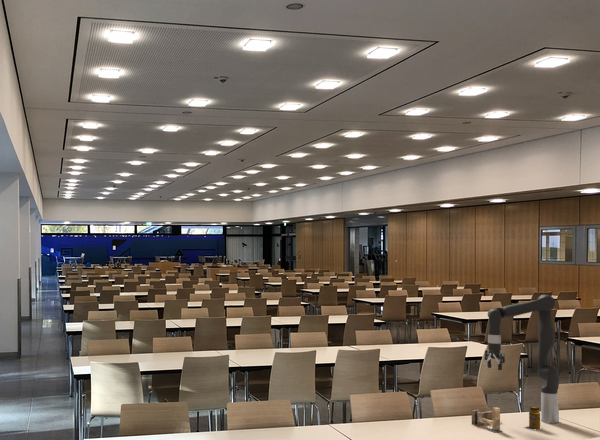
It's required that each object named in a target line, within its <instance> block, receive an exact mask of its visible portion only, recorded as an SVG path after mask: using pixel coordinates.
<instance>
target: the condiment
mask: <svg viewBox="0 0 600 440" xmlns="http://www.w3.org/2000/svg"><path fill="white" fill-rule="evenodd" d="M528 422H529V423H528V426H524V427H523V428H525V429H527V430H531V431H538V430H539V431H540V430H544V428H543V427H541V409H540V407H539V406H535V405H531V406H530V405H529V411H528ZM540 428H541V429H540ZM534 429H536V430H534Z"/></svg>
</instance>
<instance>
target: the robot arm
mask: <svg viewBox="0 0 600 440" xmlns="http://www.w3.org/2000/svg"><path fill="white" fill-rule="evenodd" d="M556 303H557V301H556V299H555V298H554V297H553V296H552V295H549V294H541V295H539V296H538V298H537V299H536V300H535V299H534V300H532V301H527V302H520V303H513V304H509V305H506V306H500V307H494V308H491V309H489V310H488V312H487V318H488V319H489V320H488V321H489V322H488V324H489V325H488V329H487V330H488V333H487V334H488V335H487V349H485V350H484V361H486V362H487V368H488V369H492V360H493V359H494V360H495V361H496V362H497V370H498V371H502V370H503V364H505V363H506V360H505V359H506V358H505V353H504V352H501V351H502V337H501V336H502V335H501V322H502V319H505V318H512V317H516V316H521V315H525V314H529V313H535V312H538V329H537V330H538V335H537V336H538V337H537V338H538V359H537V360H538V362H537V363H538V364H537V374H538V377H539V378H540V379H541V380H544V381H546V385H542V386H541V387H540V422H543V423H546V424H557V423H558V422H560V413H559V412H560V407H559V405H558V404H559V403H558V400H559V399H558V398H559V397H558V389H559V386H560V372H559V371H560V370H559V368H558V367H557V366H555V365H550V364H549V359H550V354H551V352H552V350H553V348H554V347H555V344H556V332H555V327H554V323H553V321H552V320H553V319H552V310H553V309H554V308H555V306H556Z"/></svg>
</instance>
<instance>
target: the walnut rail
mask: <svg viewBox="0 0 600 440" xmlns="http://www.w3.org/2000/svg"><path fill="white" fill-rule="evenodd" d="M477 412H482V418H485V419H488V420H492V410H487V411H481V410H480V409H472V410H471V425H473V426H479V425H478V421H477ZM482 424H485V423H482Z"/></svg>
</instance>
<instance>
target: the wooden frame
mask: <svg viewBox="0 0 600 440" xmlns="http://www.w3.org/2000/svg"><path fill="white" fill-rule="evenodd" d="M491 409H492V410H491V411H492V420H488V419H485V418H482V412H483V411H480V412H477V421H478V425H477V426H482V423H484V424H486V425H490V426H492V428H491V429H493V430H501V408H500V407H497V406H494V407H492V408H491Z"/></svg>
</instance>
